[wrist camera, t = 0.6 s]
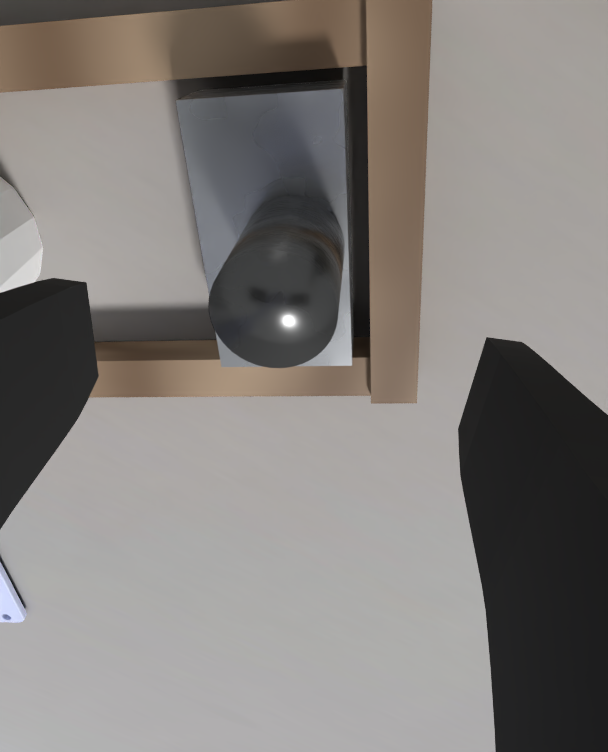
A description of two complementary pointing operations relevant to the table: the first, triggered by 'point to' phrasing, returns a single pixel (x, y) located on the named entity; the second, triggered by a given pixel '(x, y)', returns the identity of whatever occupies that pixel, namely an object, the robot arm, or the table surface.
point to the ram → (274, 220)
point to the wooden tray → (253, 56)
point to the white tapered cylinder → (17, 241)
